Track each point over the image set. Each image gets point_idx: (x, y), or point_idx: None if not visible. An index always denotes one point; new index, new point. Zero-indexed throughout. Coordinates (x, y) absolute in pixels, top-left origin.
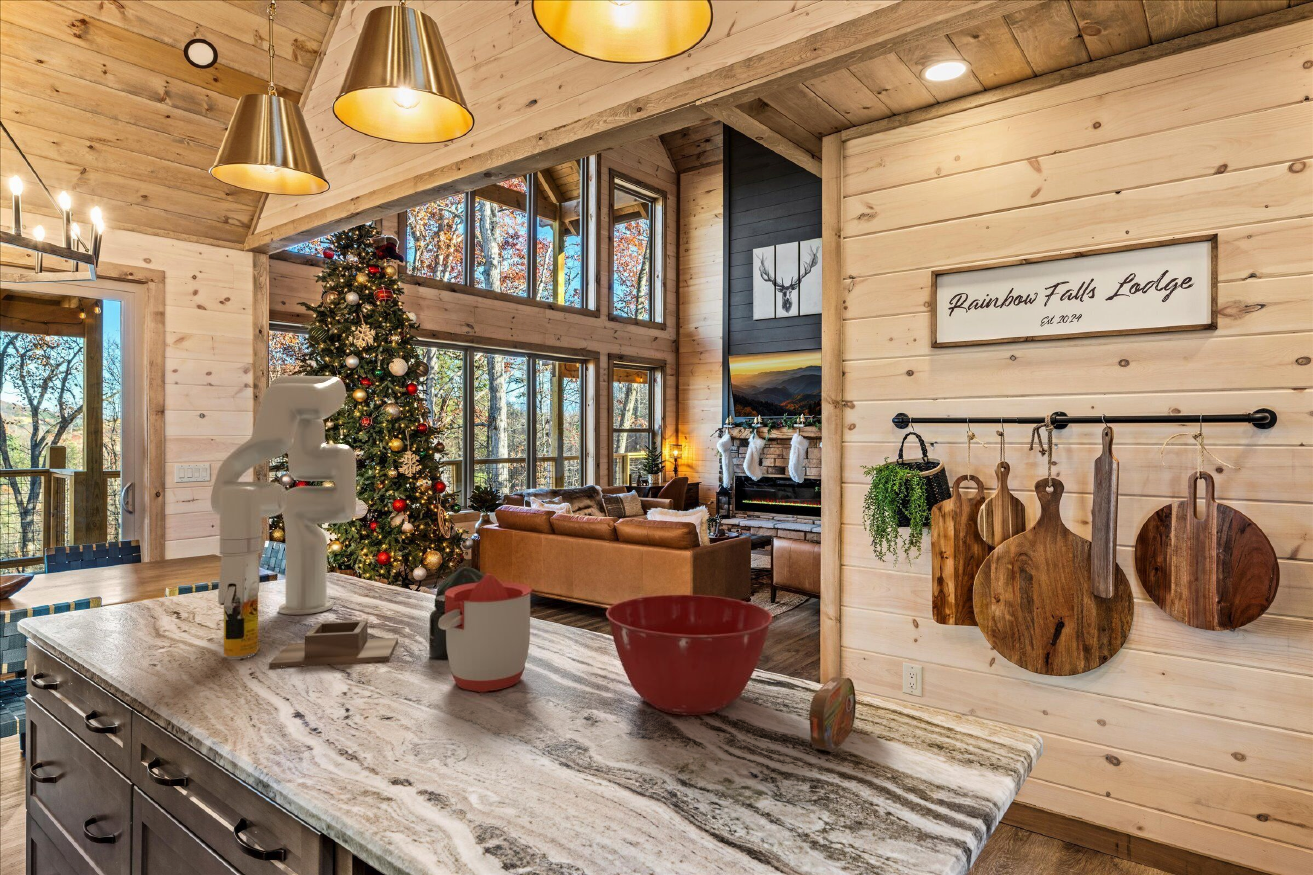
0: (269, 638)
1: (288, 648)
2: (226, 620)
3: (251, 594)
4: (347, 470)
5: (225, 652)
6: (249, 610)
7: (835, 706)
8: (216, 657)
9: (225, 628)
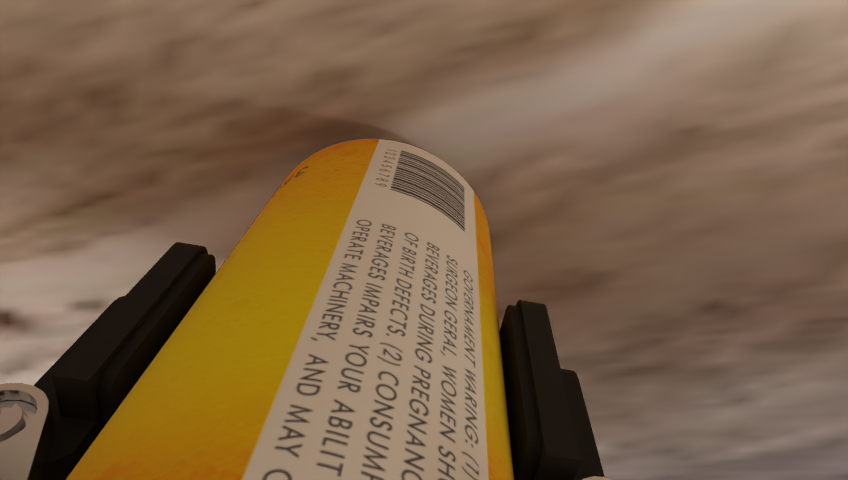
0: (754, 348)
1: None
2: (59, 373)
3: None
4: None
5: (301, 166)
6: None
7: None
8: (392, 74)
9: (223, 274)
